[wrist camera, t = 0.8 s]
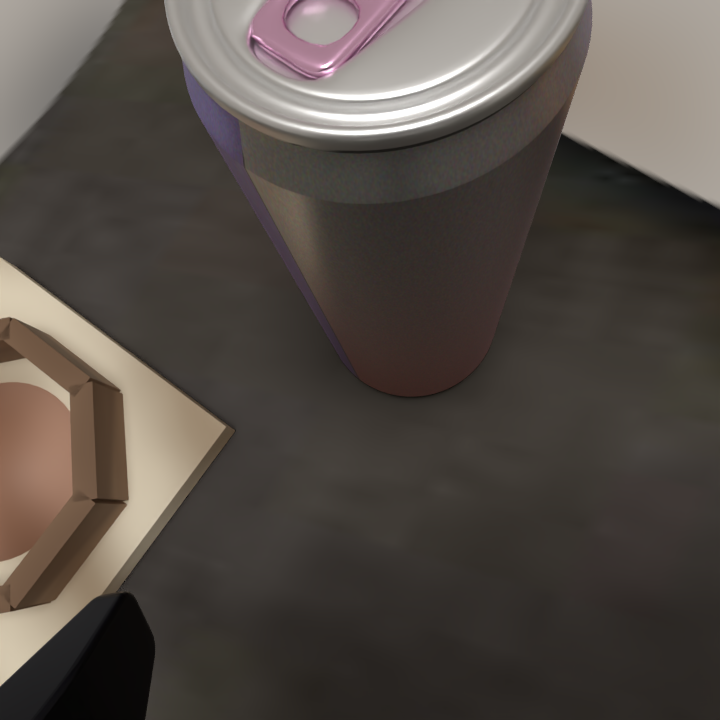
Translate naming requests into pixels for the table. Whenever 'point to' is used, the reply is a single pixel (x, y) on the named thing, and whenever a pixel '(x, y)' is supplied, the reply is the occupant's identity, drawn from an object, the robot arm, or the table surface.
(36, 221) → the table surface
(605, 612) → the table surface
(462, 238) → the beverage can
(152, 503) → the board
